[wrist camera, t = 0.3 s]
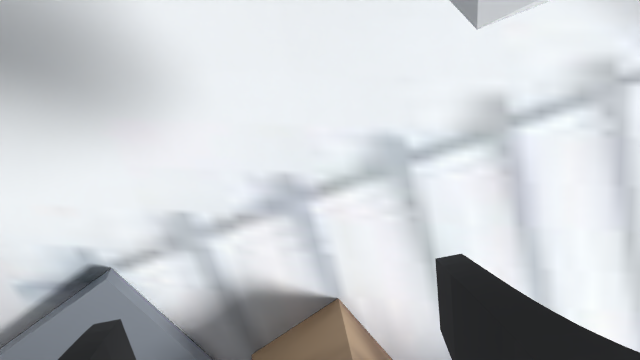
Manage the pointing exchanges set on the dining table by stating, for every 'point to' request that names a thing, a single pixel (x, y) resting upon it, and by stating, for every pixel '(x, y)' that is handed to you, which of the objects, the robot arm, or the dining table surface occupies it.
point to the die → (493, 9)
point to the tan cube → (325, 339)
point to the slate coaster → (101, 306)
